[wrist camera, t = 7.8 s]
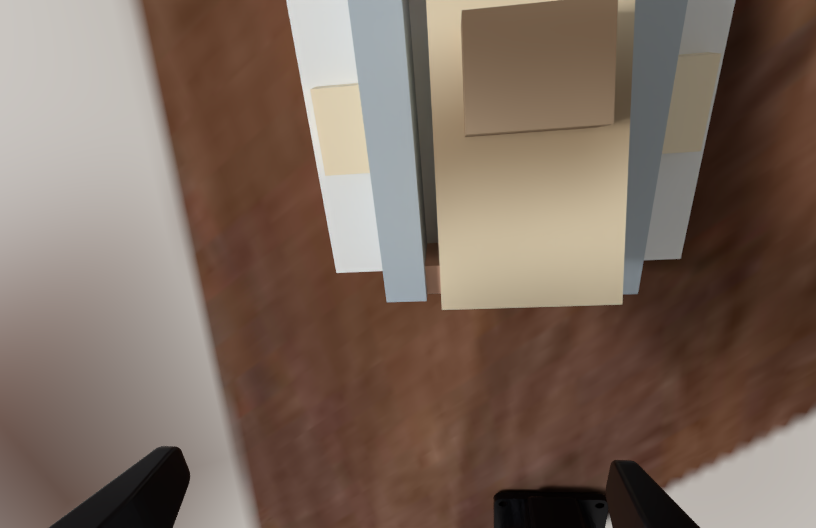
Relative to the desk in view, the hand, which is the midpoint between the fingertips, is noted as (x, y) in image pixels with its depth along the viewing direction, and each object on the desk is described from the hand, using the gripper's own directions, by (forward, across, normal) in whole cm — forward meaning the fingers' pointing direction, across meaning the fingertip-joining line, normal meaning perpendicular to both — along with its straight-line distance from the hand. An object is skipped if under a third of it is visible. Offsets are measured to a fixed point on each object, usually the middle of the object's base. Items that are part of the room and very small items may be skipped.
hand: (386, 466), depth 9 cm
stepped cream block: (+9, -3, -4) cm, 11 cm away
